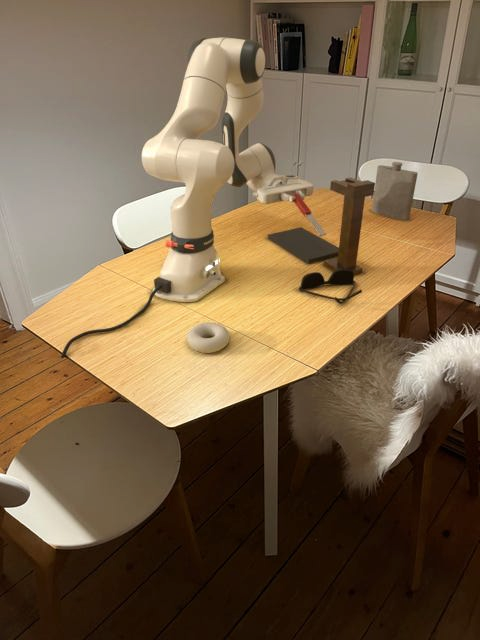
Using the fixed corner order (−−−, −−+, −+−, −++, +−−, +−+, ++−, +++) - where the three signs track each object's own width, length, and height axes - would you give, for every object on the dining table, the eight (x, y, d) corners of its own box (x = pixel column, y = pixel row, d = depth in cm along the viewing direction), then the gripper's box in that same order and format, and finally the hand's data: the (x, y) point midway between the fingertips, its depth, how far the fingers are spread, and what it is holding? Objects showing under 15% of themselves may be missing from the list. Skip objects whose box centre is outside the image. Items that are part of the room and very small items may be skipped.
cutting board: (267, 238, 164) (267, 234, 163) (300, 231, 169) (301, 227, 168) (308, 264, 146) (308, 259, 145) (343, 254, 151) (344, 250, 150)
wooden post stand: (323, 265, 145) (331, 177, 130) (341, 260, 148) (350, 174, 133) (344, 278, 137) (354, 186, 123) (362, 272, 140) (375, 182, 126)
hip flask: (410, 219, 178) (420, 165, 167) (405, 221, 175) (414, 167, 165) (374, 209, 188) (381, 158, 177) (368, 211, 185) (375, 160, 175)
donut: (230, 355, 106) (229, 330, 114) (229, 343, 104) (229, 318, 112) (185, 356, 106) (188, 331, 114) (184, 344, 104) (187, 319, 112)
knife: (290, 198, 155) (291, 194, 154) (296, 196, 156) (298, 193, 155) (318, 237, 147) (320, 233, 146) (325, 235, 148) (327, 232, 147)
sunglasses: (315, 314, 120) (317, 297, 118) (297, 288, 132) (298, 272, 130) (375, 306, 124) (378, 289, 121) (352, 281, 135) (354, 265, 133)
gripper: (249, 183, 158) (271, 194, 147) (299, 174, 166) (323, 184, 156) (249, 201, 161) (271, 213, 151) (298, 192, 169) (322, 202, 159)
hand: (298, 198), depth 153 cm, fingers closed on knife, 2 cm apart
